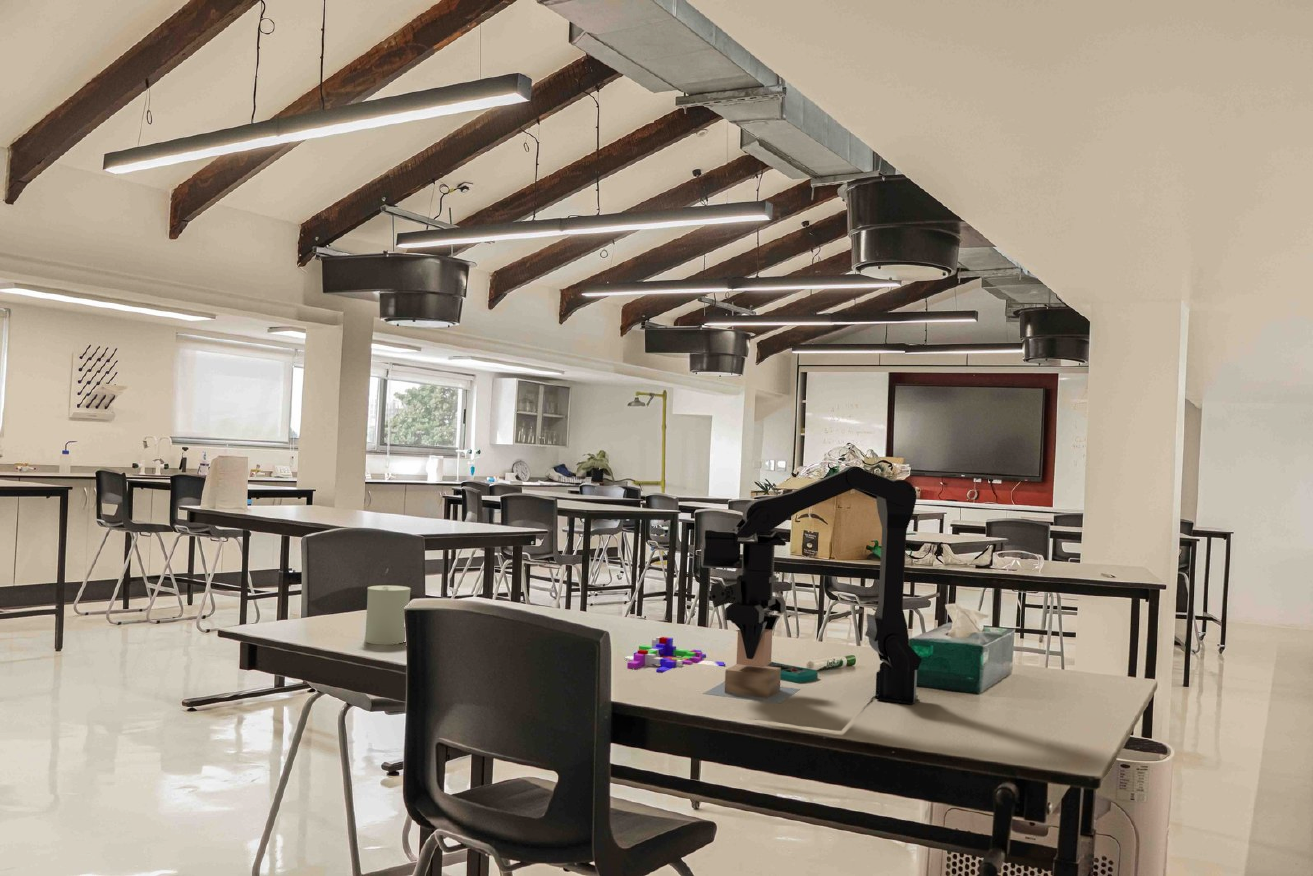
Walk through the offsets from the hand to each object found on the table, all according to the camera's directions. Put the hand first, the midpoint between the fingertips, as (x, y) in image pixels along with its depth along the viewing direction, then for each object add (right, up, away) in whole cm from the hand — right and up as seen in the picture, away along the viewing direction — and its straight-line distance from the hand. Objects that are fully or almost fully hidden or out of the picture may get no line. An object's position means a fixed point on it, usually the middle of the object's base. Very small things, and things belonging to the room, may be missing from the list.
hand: (754, 656), depth 186 cm
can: (-76, -5, +37) cm, 85 cm away
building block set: (-14, -8, +29) cm, 33 cm away
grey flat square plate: (0, -7, 0) cm, 7 cm away
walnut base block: (0, -6, 0) cm, 6 cm away
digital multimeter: (+6, -8, +17) cm, 20 cm away
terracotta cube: (0, -1, 0) cm, 1 cm away
